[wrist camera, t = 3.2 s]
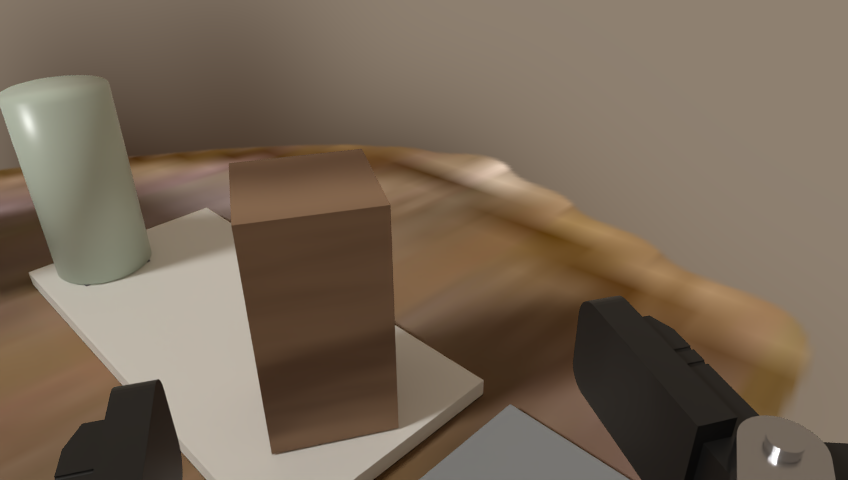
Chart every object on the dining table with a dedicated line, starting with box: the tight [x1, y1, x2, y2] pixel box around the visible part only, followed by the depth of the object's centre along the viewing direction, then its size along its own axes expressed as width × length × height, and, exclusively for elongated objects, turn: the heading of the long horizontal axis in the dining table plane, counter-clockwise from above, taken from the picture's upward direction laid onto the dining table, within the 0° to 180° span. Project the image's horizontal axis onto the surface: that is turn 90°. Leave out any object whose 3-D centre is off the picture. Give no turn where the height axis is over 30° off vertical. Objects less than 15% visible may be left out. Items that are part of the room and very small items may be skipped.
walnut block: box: [229, 149, 399, 454], centre depth 25 cm, size 5×5×10 cm
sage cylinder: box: [0, 75, 151, 285], centre depth 35 cm, size 5×5×10 cm
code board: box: [29, 208, 484, 480], centre depth 33 cm, size 11×24×1 cm, turn 45°
